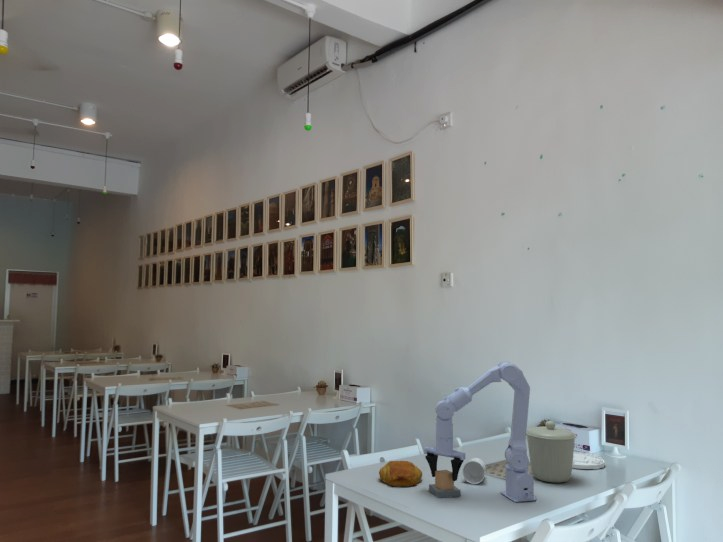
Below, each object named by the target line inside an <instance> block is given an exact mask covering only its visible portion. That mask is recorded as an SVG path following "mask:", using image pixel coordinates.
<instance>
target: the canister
mask: <svg viewBox="0 0 723 542" xmlns="http://www.w3.org/2000/svg"><path fill="white" fill-rule="evenodd" d="M544 425H545V426H533V427H530V428H529V429H527V430H526V439H527V446H528V448H527V449H528V455H529V456H528V457H529V463H530V468H531V472H532V475H533V477H534V478H535V479H537V480H540V481H542V482H545V483H546V482H547V483H555V484H556V483H560V484H561V483H565V482H568V481H569V480H570V479H571V476H572V471H573V469H572V464H573V453H574V452H575V441H576V439H577V434H575V433H574V432H572V431H571V430H569V429H567V428H562V427H556V422H554V421H553V420H546V422H545V423H544Z"/></svg>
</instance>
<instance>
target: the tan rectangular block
mask: <svg viewBox="0 0 723 542" xmlns="http://www.w3.org/2000/svg"><path fill="white" fill-rule="evenodd" d="M434 478H435V479H434V484H435V486H436V487H438V488H440V489H442V490H446V489H453V488H454V486H455V481H453V480H452V471H451V470H449V469H440V470H437V471H435V477H434Z"/></svg>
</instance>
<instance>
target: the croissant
mask: <svg viewBox="0 0 723 542" xmlns="http://www.w3.org/2000/svg"><path fill="white" fill-rule="evenodd" d="M378 475H379V479H380V480H381V482H382V483H384V484H388V486H390V485H392V487H400V486H408V487H412V486H413V485H414V486H417V484H419V482H420V481H421V480H422V477H423V472H422V470H421V469H420V468H419V467H418V466H416V465H415V464H414V463H413V462H410V461H408V460H390V461H388V462H387V463H386V464H385V465H383V466H382V467H381V468H380V469H379V471H378Z"/></svg>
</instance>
